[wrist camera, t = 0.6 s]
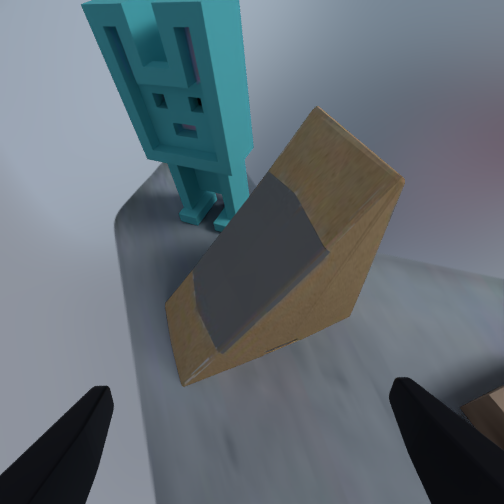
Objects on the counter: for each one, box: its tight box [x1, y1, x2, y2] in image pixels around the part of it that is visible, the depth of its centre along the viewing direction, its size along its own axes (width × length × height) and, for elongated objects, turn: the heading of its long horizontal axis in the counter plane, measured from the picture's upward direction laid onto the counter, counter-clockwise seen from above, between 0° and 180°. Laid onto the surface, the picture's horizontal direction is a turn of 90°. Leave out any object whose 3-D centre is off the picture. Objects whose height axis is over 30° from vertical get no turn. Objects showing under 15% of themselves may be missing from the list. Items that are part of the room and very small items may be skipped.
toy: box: [81, 0, 254, 232], centre depth 27 cm, size 9×6×20 cm, turn 66°
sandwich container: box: [165, 106, 405, 387], centre depth 20 cm, size 9×15×15 cm, turn 111°
